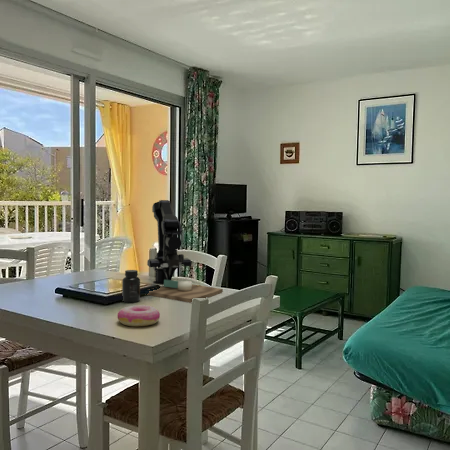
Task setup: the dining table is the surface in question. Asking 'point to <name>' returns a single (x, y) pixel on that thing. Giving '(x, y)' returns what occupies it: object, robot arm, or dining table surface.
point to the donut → (138, 315)
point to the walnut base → (185, 293)
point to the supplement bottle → (131, 287)
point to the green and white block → (179, 284)
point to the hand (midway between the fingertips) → (169, 282)
